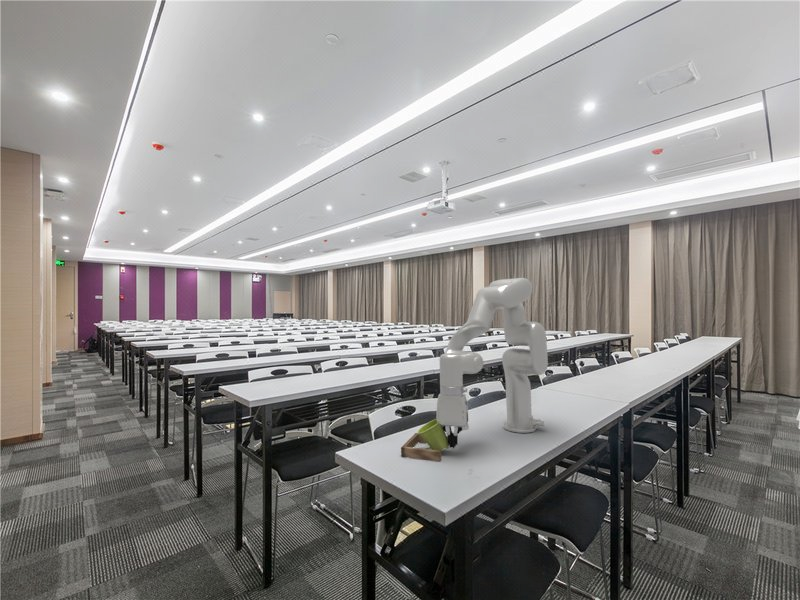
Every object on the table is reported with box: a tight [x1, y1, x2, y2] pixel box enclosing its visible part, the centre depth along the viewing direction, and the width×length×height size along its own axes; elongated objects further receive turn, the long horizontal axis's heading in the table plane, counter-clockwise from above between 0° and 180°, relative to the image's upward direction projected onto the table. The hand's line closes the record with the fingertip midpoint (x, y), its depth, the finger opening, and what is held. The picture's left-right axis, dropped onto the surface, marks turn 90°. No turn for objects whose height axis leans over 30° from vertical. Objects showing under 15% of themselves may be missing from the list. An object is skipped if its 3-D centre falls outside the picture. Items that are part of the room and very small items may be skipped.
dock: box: [400, 432, 450, 463], centre depth 124 cm, size 13×15×3 cm
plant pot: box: [416, 418, 450, 452], centre depth 122 cm, size 9×9×9 cm
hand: (452, 446), depth 120 cm, fingers closed
